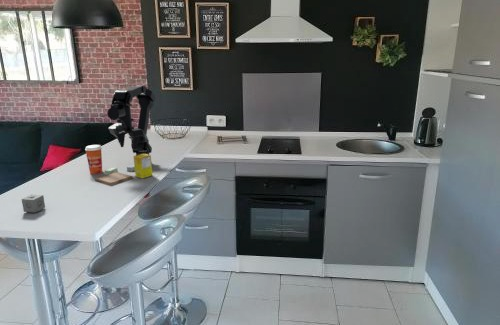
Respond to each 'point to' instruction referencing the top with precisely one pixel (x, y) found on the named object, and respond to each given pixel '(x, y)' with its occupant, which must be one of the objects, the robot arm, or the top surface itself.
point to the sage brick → (111, 171)
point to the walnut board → (113, 178)
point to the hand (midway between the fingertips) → (128, 148)
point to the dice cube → (33, 203)
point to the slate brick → (131, 168)
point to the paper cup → (94, 158)
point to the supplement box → (143, 166)
